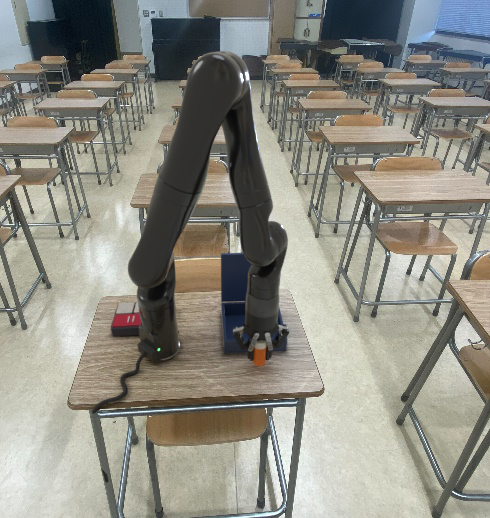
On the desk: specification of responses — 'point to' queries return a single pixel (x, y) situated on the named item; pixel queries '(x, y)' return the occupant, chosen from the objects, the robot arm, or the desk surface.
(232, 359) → the desk surface
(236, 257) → the lid
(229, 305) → the pencil box
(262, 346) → the glue stick
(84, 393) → the desk surface
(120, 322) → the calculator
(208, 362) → the desk surface
